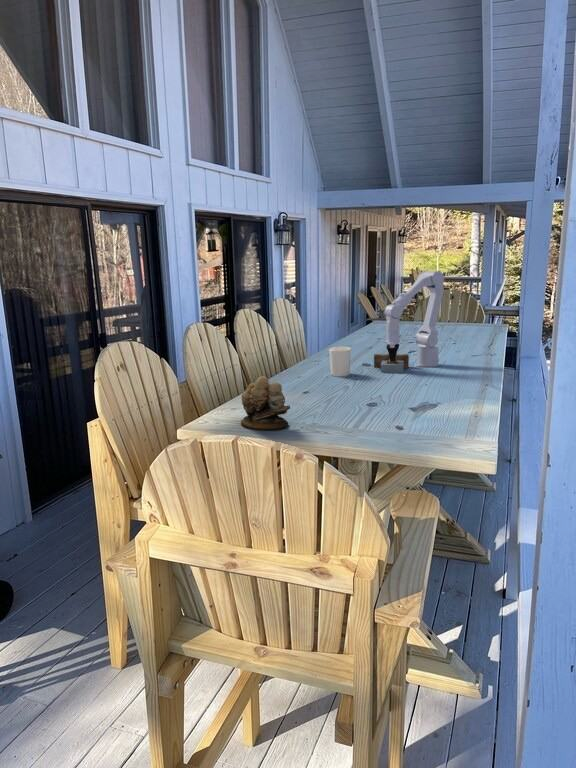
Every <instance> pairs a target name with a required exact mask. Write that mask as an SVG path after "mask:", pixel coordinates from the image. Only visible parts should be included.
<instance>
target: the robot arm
mask: <svg viewBox="0 0 576 768" xmlns="http://www.w3.org/2000/svg"><path fill="white" fill-rule="evenodd" d="M444 281H445V276H444V274H443V272H441V271H439V270H436V271H434V270H433V271H432V270H423V271H422V272H421V273H420V274H419V275H418V277H417V279H416V281H414V282H413V284H412V285H411V286H410V287H409V289H408V290H406V292H401V293H399V294H398V296H397V298H396V299H395V300H393V301H392V302H391V304H388V305H386V307H385V308H384V310H383V314H384V316H385V320H386V340H384V341H383V343H385V344H386V346H385V347H386V350H387V354H389V358H390V362H395V359H396V354H398V350H399V348H400V342H401V340H400V318H401V317H402V315H403V313H404V311H405V309H406V308H407V307H408V306H409V305H410V304H411V303H412V299H413V297H414V296H415V295H416V294H417V293H418V292H419V291H421V290H422V289H423V288H424V287H426V289H428V290H429V292H430V294H429V299H428V302H427V307H426V311H425V315H424V319H423V320H424V321H423V324H422V326H421V327H419V328H418V331H417V333H416V334H415V337H414V340H415V343H416V344H417V347H418V350H417V351H418V352H417V353H418V354H417V362H416V366H417V367H420V368H421V367H422V368H424V367H425V368H427V367H428V368H435V367H436V368H437V367H439V361H440V359H439V346H436V345H437V344H438V341H439V339H438V338H439V337H438V333H439V332H438V330H437V329H436V324H437V321H438V316H439V312H440V309H441V308H440V307H441V303H442V300H443V299H442V298H443V296H444V291H445V289H444Z"/></svg>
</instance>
